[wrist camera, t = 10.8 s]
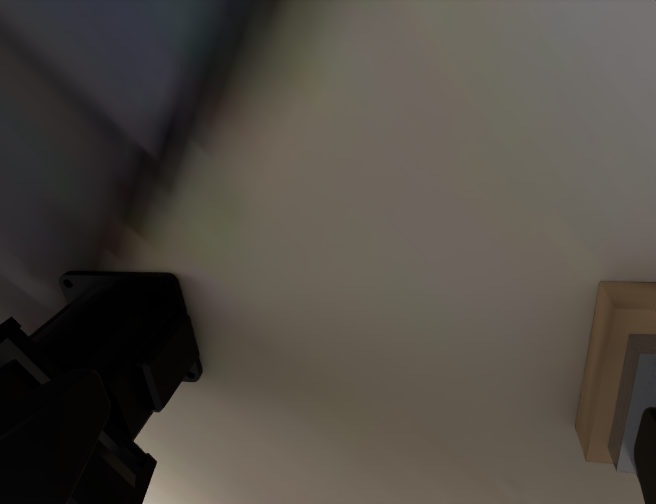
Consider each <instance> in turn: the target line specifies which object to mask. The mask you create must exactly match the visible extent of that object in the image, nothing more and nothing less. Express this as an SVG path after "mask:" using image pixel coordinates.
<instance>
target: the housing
mask: <svg viewBox="0 0 656 504" xmlns="http://www.w3.org/2000/svg"><path fill="white" fill-rule="evenodd" d="M648 407H656V334H629V336H628V341H627V347H626V352H625V358H624V363H623V368H622V374H621V379H620V384H619V390H618V395H617V400H616V406H615V411H614V417H613V422H612V427H611V433H610V438H609V443H608V450H609V453H610V456H611V458H612V461H613V464H614V466H615V469H616V472H629V473H636V475H637V477H638V474H637V470H636V466H635V462H634V445H635V441H636V437H637V433H638V429H639V425H640V421H641V417H642V414H643V411H644V410H645V409H646V408H648ZM638 480H639V478H638Z"/></svg>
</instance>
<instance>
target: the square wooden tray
mask: <svg viewBox="0 0 656 504" xmlns="http://www.w3.org/2000/svg"><path fill="white" fill-rule="evenodd" d="M629 334H656V282H600V285H599V291H598V297H597V302H596V308H595V314H594V320H593V326H592V332H591V338H590V343H589V349H588V355H587V361H586V367H585V373H584V378H583V384H582V390H581V396H580V402H579V408H578V413H577V419H576V425H575V428H576V431H577V434H578V437H579V440H580V444H581V447H582V450H583V453H584V456H585V459H586V461H588V462H599V463H610V464H613V461H612V458H611V456H610V453H609V450H608V443H609V438H610V433H611V427H612V422H613V417H614V411H615V406H616V400H617V395H618V390H619V384H620V379H621V374H622V368H623V363H624V358H625V352H626V347H627V341H628V336H629Z"/></svg>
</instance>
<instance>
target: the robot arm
mask: <svg viewBox="0 0 656 504" xmlns="http://www.w3.org/2000/svg"><path fill="white" fill-rule="evenodd" d="M69 280H70V281H71V282H72V283H71V282H70V281H69ZM165 281H166V282H168V283H169V284H170V286H169V285H167V284H166V283H165ZM59 283H60V286H61V289H62V291H63V294H64V296H65V299H66V301H67V304H68V305H67V306H65V307H64V308H63V309H62V310H61V311H59V312H58V313H57V314H56V315H55V316H53V317H52V318H51V319H50V320H48V321H47V322H46V323H45V324H44V325H42V326H41V327H40V328H39V329H37V330H36V331H35V332H34V333H33V334H31V335H30V336H29V337H28V336H27V335H26V334H25V333H24V332H23V331H22V330H21V329H20V327H21V325H20V324H19V323H18V322H17V321H16V320H15V319H14V318H13V317H10V318H9V319H7V320H6V321H5V322H3V323H2V324H1V325H0V504H142V503H143V500H144V497H145V495H146V492H147V489H148V486H149V483H150V481H151V478H152V475H153V472H154V469H155V467H156V464H157V461H156V460H155V459H154V458H153V457H152V456H151V455H150V454H149V453H145V452H144V451H143V450H142V449H141V448H140V447H139V446H138V445H137V444H136V443H135V442H134V439H135V438H136V436H137V435H138V434H139V432H140V431H141V429H142V428H143V426H144V425H145V423H146V422H147V421H148V419H149V418H150V416H151V415H152V413H153V412H160V411H161V410H162V409H163V408H164V407H165V405H166V404H167V403H168V401H169V400H170V398H171V397H172V395H173V394H174V392H175V391H176V389H177V388H178V386H179V385H180V383H181V382H182V381H184V382H196V381H198V380H199V378H200V377H201V375H202V367H201V363H200V359H199V350H198V347H197V343H196V339H195V335H194V331H193V328H192V324H191V320H190V317H189V315H188V314H187V310H186V306H185V303H184V299H183V295H182V291H181V288H180V284H179V281H178V279H177V277H176V276H175V275H173V274H171V273H158V272H87V271H69V272H66V273H65V274H63V275H62V276H61V277H60V278H59ZM192 372H193V373H192ZM634 462H635V466H636V470H637V474H638V478H639V482H640V486H641V489H642V493H643V497H644V501H645V504H656V407H648V408H646V409H645V410H644V411H643V414H642V417H641V421H640V425H639V429H638V433H637V437H636V441H635V445H634Z"/></svg>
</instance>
